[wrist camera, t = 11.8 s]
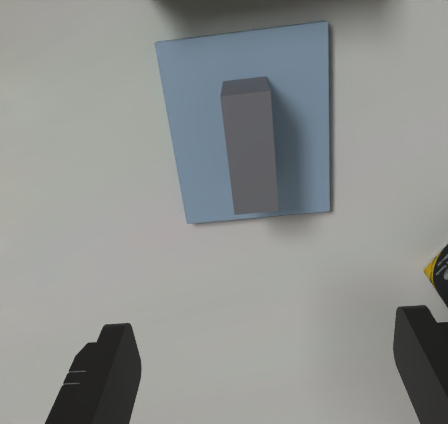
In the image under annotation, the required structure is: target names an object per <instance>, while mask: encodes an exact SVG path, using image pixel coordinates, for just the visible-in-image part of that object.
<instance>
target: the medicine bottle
mask: <svg viewBox="0 0 448 424" xmlns="http://www.w3.org/2000/svg"><path fill="white" fill-rule="evenodd" d="M424 272H425V274H426V275H427V277H428V278H429V280H430V282H431V283H432V285H433V286H434V288H435V289H436V291H437V292H438V294H439V295H440V297H441V298H442V300H443V301H444V303H445V304H446V306H447V307H448V243H447V244H446V245H445V246H444V247H443V248H442V249H441V250H440V251H439V252H438V254H437V255H436V256H435V257H434V258H433V259H432V260H431V261H430V262H429V263H428V264H427V265H426V266H425V267H424Z"/></svg>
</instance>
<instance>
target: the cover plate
mask: <svg viewBox="0 0 448 424" xmlns="http://www.w3.org/2000/svg"><path fill="white" fill-rule="evenodd" d="M155 48H156V53H157V59H158V65H159V70H160V76H161V81H162V87H163V93H164V98H165V104H166V109H167V115H168V121H169V126H170V132H171V137H172V143H173V148H174V154H175V160H176V165H177V171H178V176H179V182H180V188H181V193H182V199H183V204H184V210H185V216H186V221H187V224H192V223H203V222H214V221H225V220H236V219H247V218H259V217H270V216H281V215H292V214H303V213H314V212H326V211H330V181H329V59H328V21H318V22H310V23H302V24H294V25H286V26H278V27H270V28H262V29H254V30H246V31H238V32H230V33H222V34H214V35H206V36H198V37H190V38H182V39H174V40H166V41H158V42H156V43H155Z"/></svg>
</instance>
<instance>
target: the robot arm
mask: <svg viewBox="0 0 448 424" xmlns="http://www.w3.org/2000/svg"><path fill="white" fill-rule="evenodd" d="M393 351H394V358H395V363H396V366H397V369H398V371H399V373H400V376H401V378H402V381H403V383H404V385H405V388H406V390H407V393H408V395H409V397H410V400H411V402H412V405H413V407H414V409H415V412H416V414H417V417H418V419H419V421H420V424H448V322H441V323H437V322H436V321H435V319H434V317H433V316H432V314H431V312H430V310H429V309H428V307H427V306H425V305H419V306H403V307H398V308H397V311H396V321H395V332H394V343H393ZM140 379H141V359H140V355H139V352H138V348H137V344H136V340H135V337H134V333H133V329H132V326H131V324H130V323H122V324H106V325H104V327H103V328H102V331H101V333H100V335H99V338H98V340H97V342H93V343H87V344H86V345H85V346H84V348H83V349H82V350H81V351H80V352H79V353H78V354H77V355H76V356H75V358H74V361H73V363H72V365H71V367H70V369H69V373H68V374H67V376H66V378H65V380H64V385H63V386H62V387H61V389H60V391H59V394H58V396H57V398H56V400H55V403H54V405H53V407H52V409H51V411H50V414H49V416H48V418H47V420H46V422H45V424H129V422H130V418H131V414H132V410H133V406H134V403H135V399H136V395H137V391H138V387H139V383H140Z"/></svg>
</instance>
